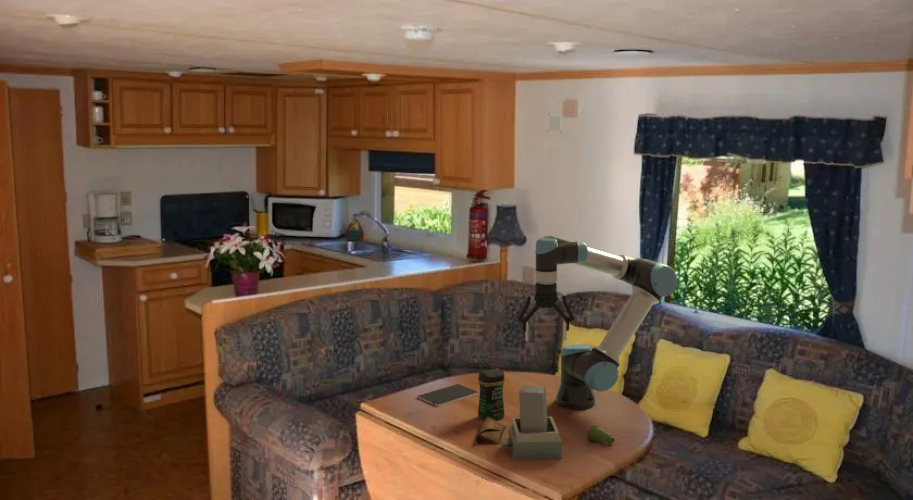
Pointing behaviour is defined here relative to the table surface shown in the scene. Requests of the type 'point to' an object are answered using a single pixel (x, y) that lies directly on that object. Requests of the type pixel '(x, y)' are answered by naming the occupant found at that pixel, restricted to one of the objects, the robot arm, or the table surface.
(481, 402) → the coffee jar
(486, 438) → the sunglasses case
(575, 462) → the table surface
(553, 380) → the table surface
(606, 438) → the pear
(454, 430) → the table surface
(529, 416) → the skincare box
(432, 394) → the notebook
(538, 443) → the grey open rectangular box
